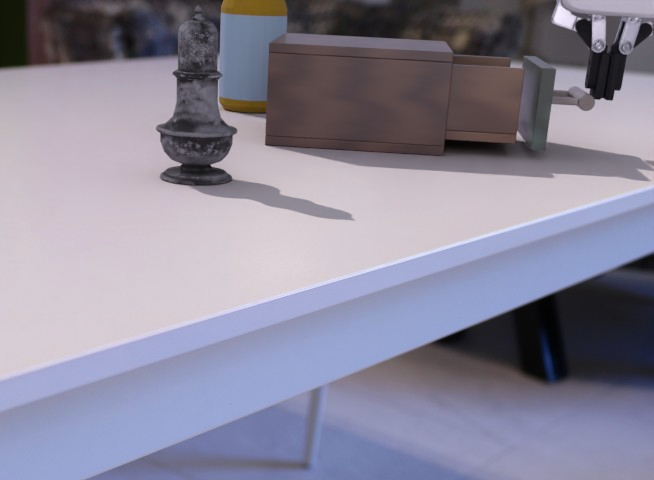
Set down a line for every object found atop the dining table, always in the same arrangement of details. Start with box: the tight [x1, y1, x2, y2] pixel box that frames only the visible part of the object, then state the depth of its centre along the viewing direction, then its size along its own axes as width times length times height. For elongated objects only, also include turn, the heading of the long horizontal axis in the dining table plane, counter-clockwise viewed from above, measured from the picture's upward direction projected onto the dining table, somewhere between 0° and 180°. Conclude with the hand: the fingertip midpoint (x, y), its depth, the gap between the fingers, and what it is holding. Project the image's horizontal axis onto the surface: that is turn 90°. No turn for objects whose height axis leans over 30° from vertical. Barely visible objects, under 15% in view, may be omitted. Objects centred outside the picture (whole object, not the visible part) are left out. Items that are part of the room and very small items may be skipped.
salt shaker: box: [155, 4, 238, 186], centre depth 75 cm, size 6×6×12 cm
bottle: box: [218, 0, 288, 114], centre depth 112 cm, size 7×7×15 cm
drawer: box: [445, 54, 596, 151], centre depth 96 cm, size 19×13×7 cm
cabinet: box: [264, 32, 455, 157], centre depth 97 cm, size 16×15×9 cm
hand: (600, 97), depth 95 cm, fingers closed
